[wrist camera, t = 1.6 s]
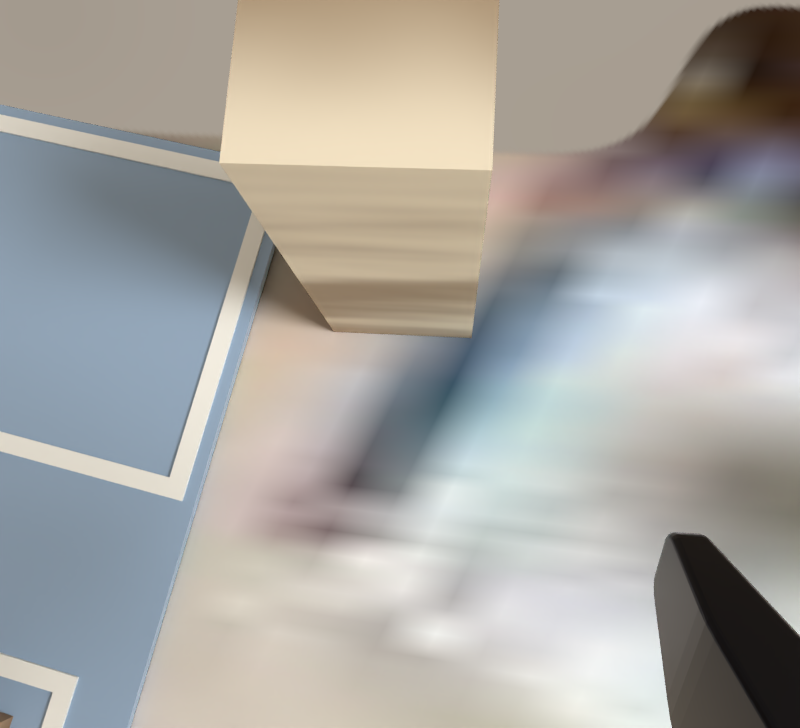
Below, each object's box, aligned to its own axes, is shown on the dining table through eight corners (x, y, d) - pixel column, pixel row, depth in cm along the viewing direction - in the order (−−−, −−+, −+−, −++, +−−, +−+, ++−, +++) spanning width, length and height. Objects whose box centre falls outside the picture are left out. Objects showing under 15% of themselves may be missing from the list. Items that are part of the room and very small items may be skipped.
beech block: (471, 338, 23) (491, 170, 12) (333, 331, 24) (218, 163, 12) (477, 207, 24) (502, -73, 12) (344, 202, 25) (246, -73, 13)
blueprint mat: (52, 987, 21) (44, 997, 20) (-308, 856, 22) (-321, 863, 22) (298, 172, 25) (295, 166, 24) (-17, 104, 26) (-24, 98, 26)
